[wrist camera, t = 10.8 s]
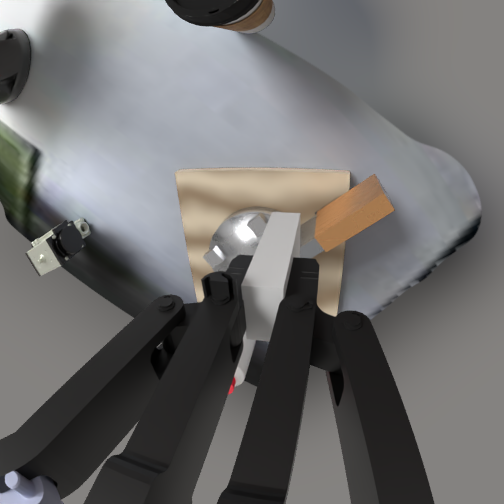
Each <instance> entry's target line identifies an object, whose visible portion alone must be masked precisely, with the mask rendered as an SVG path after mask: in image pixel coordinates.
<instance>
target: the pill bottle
mask: <svg viewBox="0 0 504 504" xmlns="http://www.w3.org/2000/svg"><path fill="white" fill-rule="evenodd" d="M243 343H244V346H243V351H242V354H241V357H240V360H239V363H238V366H237V369H236V372H235V375H234V378H233V381H232V384H231V387H230V390H229V393H228V394H230V393H232V392H233V390H234V387H235V386H238V385H240V384H241V383H242V382H243V381H244V379H245V376H246V373H247V370H248V366H249V363H250V360H251V357H252V353H253V350H254V347H255V343H256V340H251V339H247V338H246V331H245V334H244V337H243Z"/></svg>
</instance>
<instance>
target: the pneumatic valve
mask: <svg viewBox="0 0 504 504" xmlns="http://www.w3.org/2000/svg"><path fill="white" fill-rule="evenodd" d="M90 234H91V231H90V230H89V226H88V224H87V223H86V222H84V219H83V218H80V219H78V220H76V221H75V222H73V221H70V222H69V223H68V222H67V220H65V221H64V222H62V223H61V224H59V225H58V226H56V227H55V228H54V229H52V230H51V231H49V232H48V233H46V234H45V235H43V236H42V237H41V238H38V239H36V240H35V241H33V242H32V247H33V248H32V249H31V250H29V251H28V252H27V253H26V255H27V257H28V259H29V260H30V262H31V264H32V265H33V267H34V268H35V270H36V272H37V273H38V275H39V276H41V275H43V274H45V273H47V272H49V271H51V270H54V269H56V268H58V267H60V266H62V265H64V264H65V263H66V262H67V261H68V260H69V259H71V258H72V257H73V256H74V255H75V254H76V253H78V252H79V251H80V250H81V249H82V248H83V247H85V246H86V243H85V241H84V240H83V238H85V237H87V236H88V235H90Z"/></svg>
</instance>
